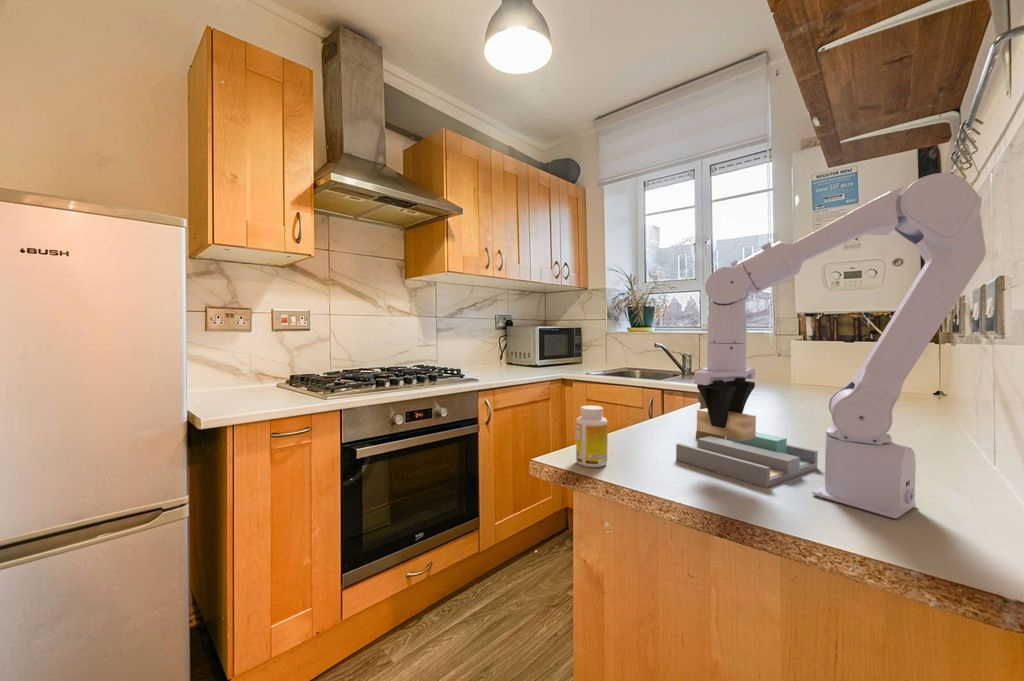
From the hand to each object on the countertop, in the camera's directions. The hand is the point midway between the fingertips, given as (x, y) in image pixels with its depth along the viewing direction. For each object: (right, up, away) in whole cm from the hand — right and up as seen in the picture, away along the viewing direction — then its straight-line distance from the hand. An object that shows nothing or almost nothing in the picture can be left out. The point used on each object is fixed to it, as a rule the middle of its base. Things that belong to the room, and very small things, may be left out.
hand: (725, 425), depth 69 cm
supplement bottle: (-21, -9, +6) cm, 23 cm away
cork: (+8, -8, +22) cm, 25 cm away
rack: (+6, -8, +6) cm, 12 cm away
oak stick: (0, -2, 0) cm, 2 cm away
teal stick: (+10, -7, +9) cm, 15 cm away
